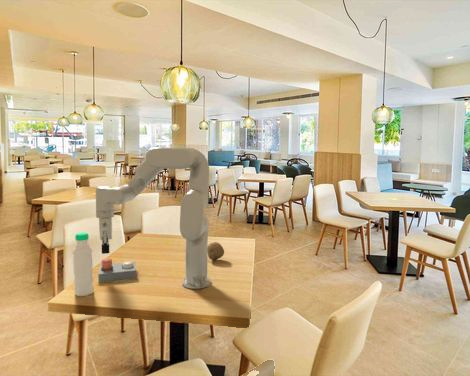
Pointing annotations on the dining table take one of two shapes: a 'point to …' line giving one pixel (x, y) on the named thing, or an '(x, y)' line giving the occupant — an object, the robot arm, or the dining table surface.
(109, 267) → the red plug
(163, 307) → the dining table surface
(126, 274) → the panel
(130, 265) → the domed peg
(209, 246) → the natural sponge
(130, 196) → the robot arm
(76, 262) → the water bottle
